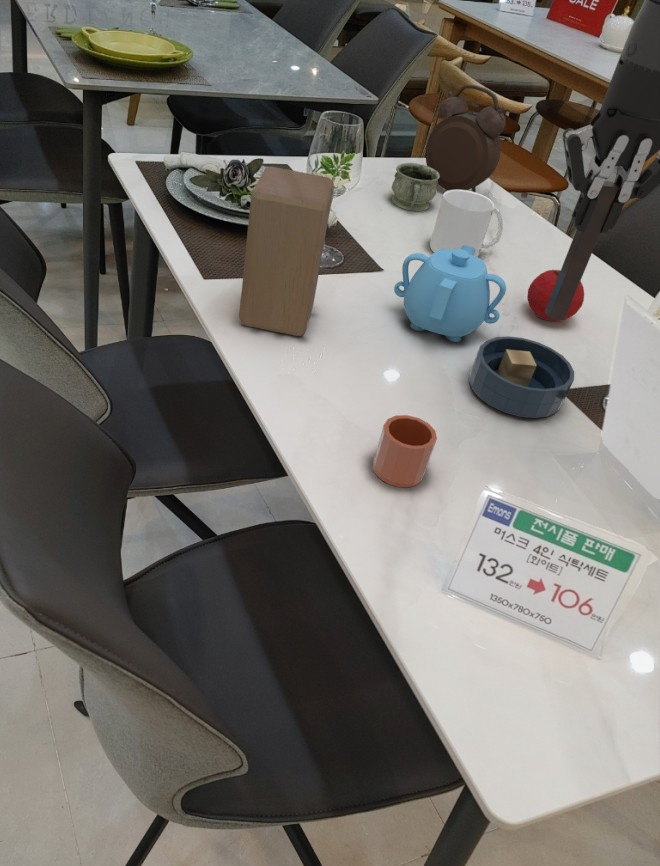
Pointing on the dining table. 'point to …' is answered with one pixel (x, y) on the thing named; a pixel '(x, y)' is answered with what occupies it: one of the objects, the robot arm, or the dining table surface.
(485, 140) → the alarm clock
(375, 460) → the holder
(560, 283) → the stick
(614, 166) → the robot arm
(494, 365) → the bowl
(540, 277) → the tomato
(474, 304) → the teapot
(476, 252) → the mug
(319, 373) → the dining table surface
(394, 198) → the vessel
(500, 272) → the dining table surface
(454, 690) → the dining table surface
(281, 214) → the wooden block
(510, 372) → the block
